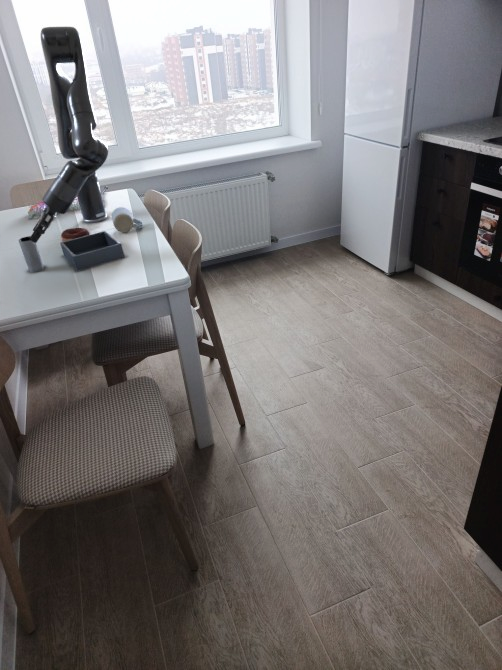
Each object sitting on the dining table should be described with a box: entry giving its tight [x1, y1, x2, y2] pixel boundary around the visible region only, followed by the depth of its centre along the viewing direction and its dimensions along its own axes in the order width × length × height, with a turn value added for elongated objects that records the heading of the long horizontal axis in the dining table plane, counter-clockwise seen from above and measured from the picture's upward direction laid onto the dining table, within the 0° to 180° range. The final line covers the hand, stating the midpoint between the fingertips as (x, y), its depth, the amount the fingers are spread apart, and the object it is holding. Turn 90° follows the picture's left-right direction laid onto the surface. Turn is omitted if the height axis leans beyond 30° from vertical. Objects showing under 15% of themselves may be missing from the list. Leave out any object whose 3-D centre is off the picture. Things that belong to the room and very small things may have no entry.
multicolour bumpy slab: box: [27, 197, 81, 220], centre depth 207 cm, size 30×15×5 cm, turn 104°
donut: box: [60, 227, 91, 242], centre depth 171 cm, size 10×10×4 cm
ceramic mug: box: [111, 206, 144, 233], centre depth 177 cm, size 11×8×8 cm
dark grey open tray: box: [59, 230, 125, 272], centre depth 156 cm, size 17×16×5 cm
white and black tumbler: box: [18, 235, 45, 273], centre depth 149 cm, size 4×4×10 cm
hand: (34, 236), depth 147 cm, fingers open, 8 cm apart
